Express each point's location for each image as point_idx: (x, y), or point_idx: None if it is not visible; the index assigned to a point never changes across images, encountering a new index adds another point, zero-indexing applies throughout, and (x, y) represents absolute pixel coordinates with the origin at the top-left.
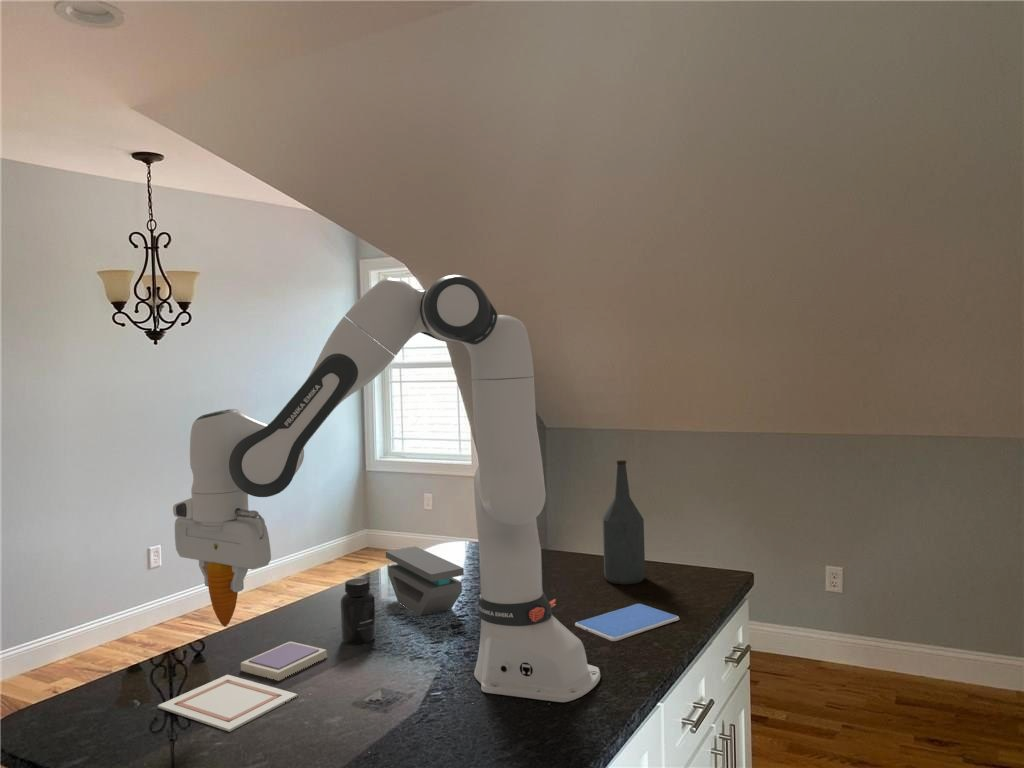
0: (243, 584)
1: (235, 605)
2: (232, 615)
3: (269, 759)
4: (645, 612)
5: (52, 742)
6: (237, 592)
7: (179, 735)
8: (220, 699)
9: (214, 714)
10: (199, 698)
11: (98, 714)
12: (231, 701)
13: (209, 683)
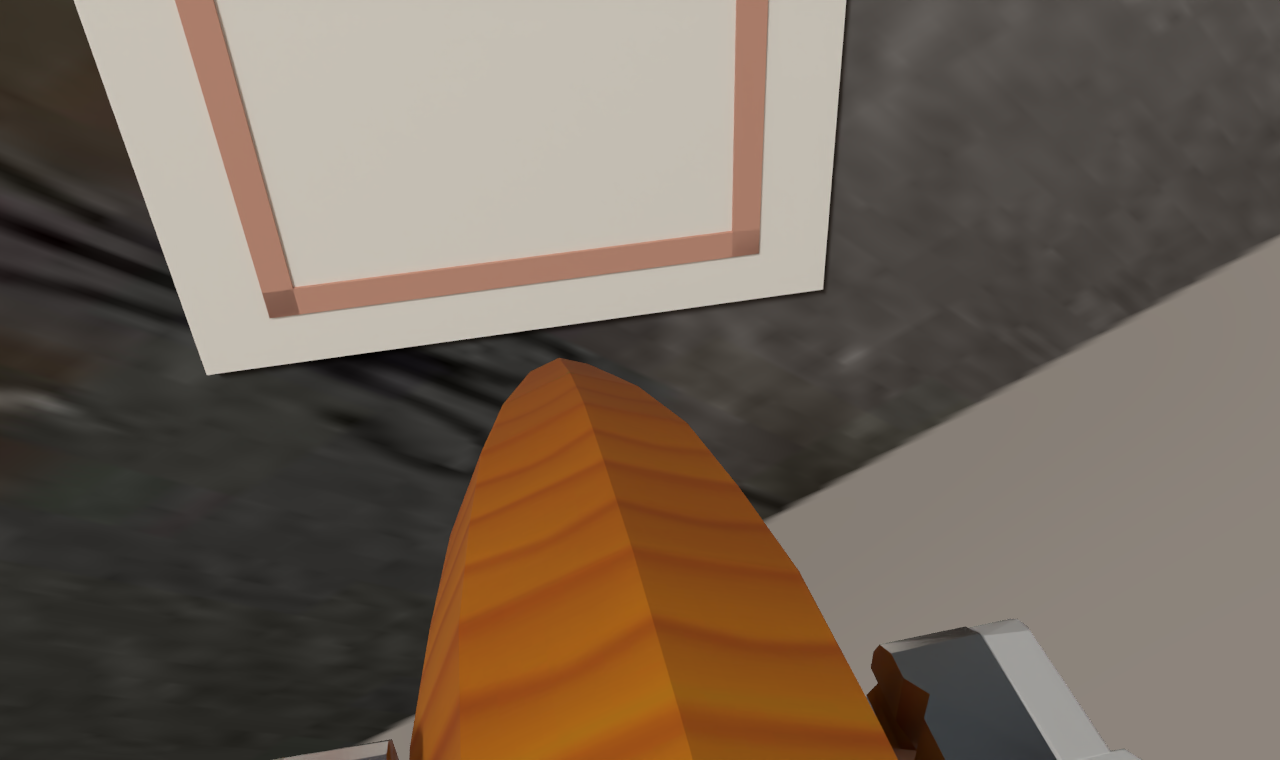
0: (1056, 672)
1: (698, 438)
2: (636, 387)
3: (1153, 306)
4: None
5: (215, 718)
6: (778, 544)
7: None
8: (450, 124)
9: (618, 256)
10: (315, 192)
11: (37, 559)
12: (541, 100)
13: (98, 15)
